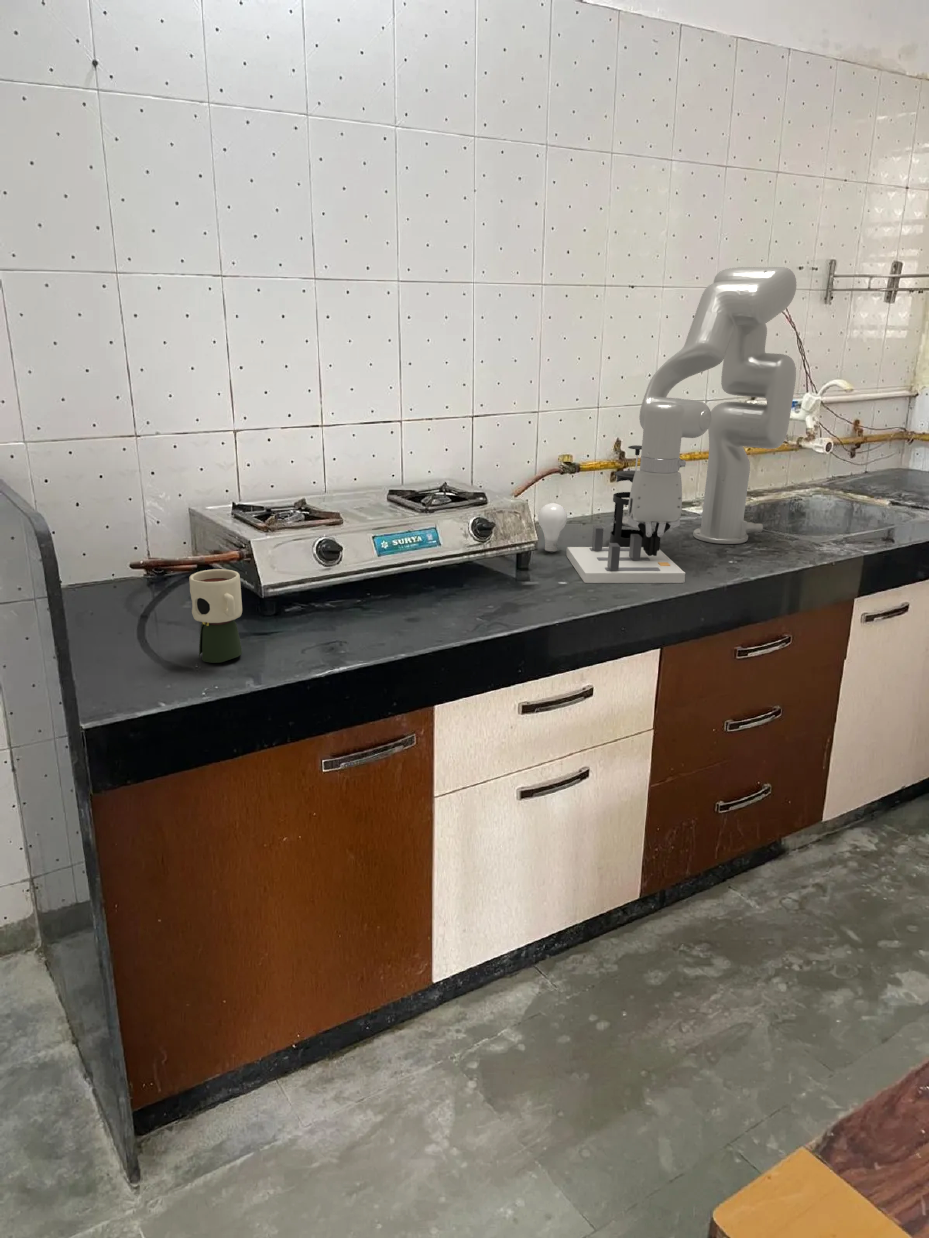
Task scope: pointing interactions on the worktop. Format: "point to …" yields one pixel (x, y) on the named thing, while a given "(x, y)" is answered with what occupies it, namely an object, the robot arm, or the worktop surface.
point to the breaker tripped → (635, 546)
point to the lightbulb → (552, 524)
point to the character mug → (217, 613)
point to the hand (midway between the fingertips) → (650, 554)
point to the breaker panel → (624, 567)
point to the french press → (619, 520)
